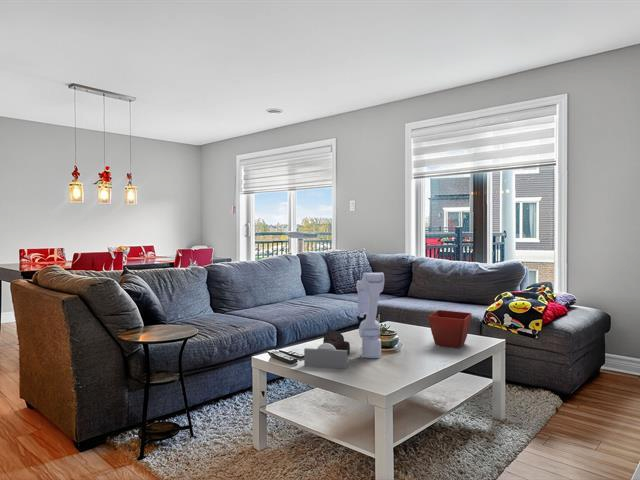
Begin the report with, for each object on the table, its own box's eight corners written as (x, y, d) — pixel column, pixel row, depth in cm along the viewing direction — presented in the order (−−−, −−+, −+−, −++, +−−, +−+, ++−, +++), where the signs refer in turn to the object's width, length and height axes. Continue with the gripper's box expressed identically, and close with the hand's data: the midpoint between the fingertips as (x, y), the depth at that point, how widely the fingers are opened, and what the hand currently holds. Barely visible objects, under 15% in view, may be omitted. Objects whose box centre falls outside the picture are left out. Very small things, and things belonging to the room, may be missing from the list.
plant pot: (464, 351, 241) (464, 319, 240) (427, 346, 251) (428, 315, 250) (471, 343, 258) (472, 312, 257) (437, 338, 267) (437, 309, 267)
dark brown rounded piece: (347, 342, 231) (350, 330, 245) (317, 342, 234) (322, 330, 248) (349, 360, 233) (352, 347, 247) (319, 360, 236) (324, 347, 250)
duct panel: (347, 366, 216) (347, 344, 215) (346, 368, 213) (346, 346, 212) (305, 364, 220) (305, 342, 220) (304, 366, 217) (304, 343, 216)
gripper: (357, 300, 256) (357, 325, 257) (353, 305, 242) (353, 330, 243) (370, 300, 255) (370, 325, 255) (367, 305, 241) (367, 331, 241)
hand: (363, 328), depth 249 cm, fingers open, 6 cm apart
